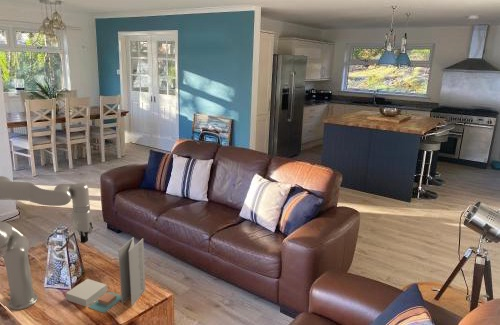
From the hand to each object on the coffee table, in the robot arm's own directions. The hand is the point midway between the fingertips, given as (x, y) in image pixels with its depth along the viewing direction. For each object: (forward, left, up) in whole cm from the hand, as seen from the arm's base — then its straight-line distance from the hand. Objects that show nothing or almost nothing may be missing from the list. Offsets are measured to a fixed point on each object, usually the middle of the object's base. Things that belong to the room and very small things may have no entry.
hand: (84, 241), depth 191 cm
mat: (+16, -5, -27) cm, 32 cm away
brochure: (+26, +4, -27) cm, 38 cm away
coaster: (+16, -4, -25) cm, 30 cm away
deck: (+4, -5, -27) cm, 28 cm away
